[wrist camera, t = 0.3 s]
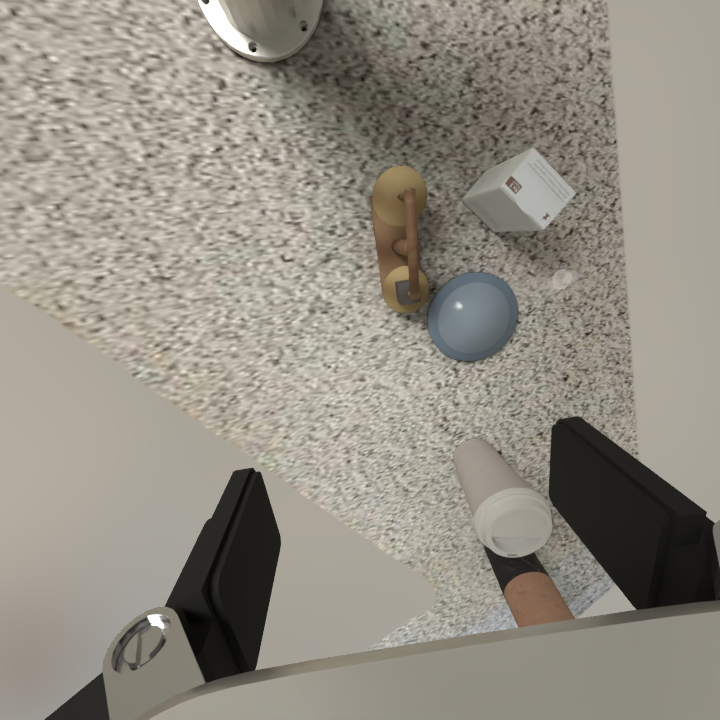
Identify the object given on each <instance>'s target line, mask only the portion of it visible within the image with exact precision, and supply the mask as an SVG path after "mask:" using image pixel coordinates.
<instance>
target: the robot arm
mask: <svg viewBox="0 0 720 720" xmlns="http://www.w3.org/2000/svg"><path fill="white" fill-rule="evenodd" d="M197 1H198V3H199V5H200V7H201V10H202V12H203V14H204V16H205V18H206V19H207V21H208V23H209V24H210V26H211V27H212V29H213V30H214V32H215V33H216V34H217V36H218V37H219V38H220V39H221V40H222V41H223V42H224V43H225V44H226V45H227V46H228V47H229V48H230V49H232V50H233V51H235V52H236V53H238V54H239V55H241V56H243V57H245V58H248V59H250V60H254V61H259V62H276V61H280V60H284V59H286V58H288V57H290V56H292V55H294V54H295V53H297V52H298V51H299V50H300V49H301V48H302V47H303V46H305V44H306V43H307V42H308V40H309V39H310V38H311V36H312V35H313V33H314V31H315V29H316V27H317V24H318V22H319V19H320V15H321V12H322V8H323V0H197ZM208 2H210V3H209V4H208V5H207V3H208ZM304 28H305V29H306V31H304V32H303V31H302V29H304ZM253 49H257V51H255V52H252V51H253ZM549 497H550V500H551V502H552V504H553V505H554V507H555V508H556V509H557V510H558V512H559V513H560V514H561V515H562V517H563V518H564V519H565V520H566V522H567V523H568V524H569V525H570V527H571V528H572V529H573V531H574V532H575V533H576V534H577V536H578V537H579V538H580V539H581V541H582V542H583V543H584V544H585V546H586V547H587V548H588V549H589V551H590V552H591V553H592V555H593V556H594V557H595V558H596V560H597V561H598V562H599V563H600V565H601V566H602V567H603V568H604V570H605V571H606V572H607V573H608V575H609V576H610V577H611V579H612V580H613V581H614V582H615V584H616V585H617V586H618V587H619V589H620V590H621V591H622V592H623V594H624V595H625V596H626V597H627V599H628V600H629V601H630V602H631V604H632V605H633V606H634V607H635V608H636V609H637V610H633V611H627V612H620V613H613V614H607V615H600V616H593V617H586V618H579V619H572V620H566V621H559V622H552V623H545V624H539V625H532V626H526V627H519V628H513V629H506V630H499V631H493V632H486V633H480V634H473V635H467V636H461V637H454V638H448V639H441V640H435V641H428V642H422V643H416V644H409V645H403V646H397V647H391V648H384V649H378V650H372V651H366V652H360V653H353V654H347V655H341V656H335V657H328V658H322V659H316V660H310V661H305V662H299V663H294V664H289V665H283V666H278V667H272V668H267V669H261V670H255V668H256V665H257V660H258V656H259V651H260V646H261V641H262V636H263V631H264V626H265V621H266V616H267V611H268V606H269V601H270V596H271V592H272V587H273V582H274V576H275V572H276V566H277V562H278V557H279V552H280V546H281V538H280V534H279V530H278V527H277V524H276V520H275V517H274V514H273V511H272V507H271V504H270V501H269V497H268V494H267V491H266V487H265V484H264V481H263V478H262V475H261V473H260V472H255V470H254V468H248V469H242V470H236V471H234V472H233V474H232V476H231V478H230V480H229V482H228V484H227V486H226V489H225V491H224V493H223V495H222V497H221V499H220V501H219V504H218V505H217V508H216V510H215V512H214V514H213V516H212V518H211V519H209V520H207V522H206V523H205V525H204V527H203V529H202V531H201V533H200V535H199V537H198V539H197V541H196V543H195V545H194V547H193V549H192V552H191V554H190V556H189V558H188V560H187V562H186V564H185V566H184V568H183V570H182V572H181V574H180V576H179V578H178V580H177V582H176V585H175V586H174V588H173V591H172V593H171V595H170V597H169V599H168V601H167V603H166V605H165V607H158V608H154V609H151V610H149V611H146V612H144V613H143V614H141V615H139V616H138V617H136V618H135V619H134V620H133V621H131V622H130V623H129V624H128V625H126V626H125V627H124V628H123V629H122V630H121V632H120V633H119V634H118V635H117V636H116V637H115V639H114V640H113V642H112V643H111V645H110V646H109V648H108V650H107V652H106V655H105V658H104V660H103V672H102V673H101V674H100V675H98V676H97V677H96V678H95V679H94V680H92V681H91V682H90V683H89V684H88V685H87V686H85V687H84V688H83V689H81V690H80V691H79V692H78V693H77V694H75V695H74V696H73V697H72V698H70V699H69V700H68V701H67V702H66V703H64V704H63V705H62V706H61V707H60V708H58V709H57V710H56V711H55V712H53V713H52V714H51V715H50V716H48V717H47V718H46V719H45V720H720V520H719V521H718V522H717V523H714V522H713V521H711V520H710V519H709V518H707V517H706V513H707V512H706V511H705V510H703V509H702V508H701V507H699V506H698V505H697V504H695V503H694V502H693V501H691V500H690V499H689V498H687V497H686V496H685V495H683V494H682V493H681V492H679V491H678V490H677V489H675V488H674V487H672V486H671V485H670V484H669V483H667V482H666V481H665V480H663V479H662V478H661V477H659V476H658V475H657V474H655V473H654V472H653V471H651V470H650V469H649V468H647V467H646V466H645V465H643V464H642V463H641V462H639V461H638V460H637V459H635V458H634V457H633V456H631V455H630V454H629V453H627V452H626V451H625V450H623V449H622V448H621V447H619V446H618V445H617V444H615V443H614V442H613V441H611V440H610V439H609V438H607V437H606V436H605V435H603V434H602V433H601V432H599V431H598V430H597V429H595V428H594V427H593V426H591V425H590V424H589V423H587V422H586V421H585V420H583V419H582V418H580V417H571V418H564V419H559V420H558V421H557V422H556V425H553V427H552V434H551V455H550V477H549Z"/></svg>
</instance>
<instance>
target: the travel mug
mask: <svg viewBox="0 0 720 720" xmlns="http://www.w3.org/2000/svg"><path fill="white" fill-rule="evenodd" d="M484 548H485V551H486V554H487V556H488V559H489V561H490V563H491V566H492V568H493V571H494V573H495V575H496V578H497V580H498V582H499V585H500V587H501V590H502V592H503V594H504V597H505V599H506V601H507V603H508V606H509V608H510V610H511V612H512V614H513V616H514V619H515V621H516V623H517V625H518V627H526V626H532V625H539V624H545V623H552V622H559V621H566V620H572V619H575V618H574V616H573V615H572V613H571V611H570V610H569V608H568V606H567V605H566V603H565V601H564V600H563V598H562V596H561V595H560V593H559V591H558V590H557V588H556V586H555V585H554V583H553V581H552V580H551V578H550V577H549V575H548V573H547V572H546V570H545V569H544V567H543V566H542V564H541V563H540V561H539V560H538V558H537V557H536V555H535V553H534V552H533V553H531V554H529V555H526V556H522V557H515V558H510V557H503V556H500V555H498V554H496V553H494V552H493V551H492V550H491V549H489V548H488V547H486V546H485V545H484Z"/></svg>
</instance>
